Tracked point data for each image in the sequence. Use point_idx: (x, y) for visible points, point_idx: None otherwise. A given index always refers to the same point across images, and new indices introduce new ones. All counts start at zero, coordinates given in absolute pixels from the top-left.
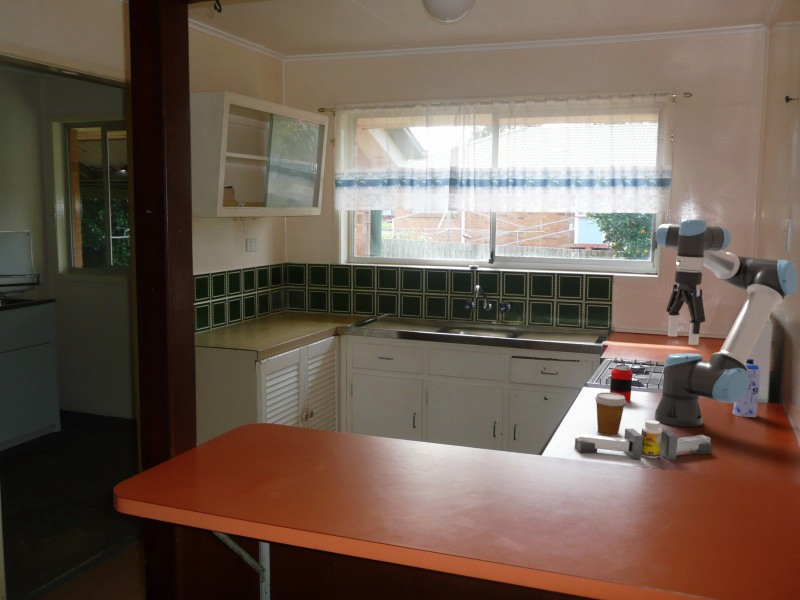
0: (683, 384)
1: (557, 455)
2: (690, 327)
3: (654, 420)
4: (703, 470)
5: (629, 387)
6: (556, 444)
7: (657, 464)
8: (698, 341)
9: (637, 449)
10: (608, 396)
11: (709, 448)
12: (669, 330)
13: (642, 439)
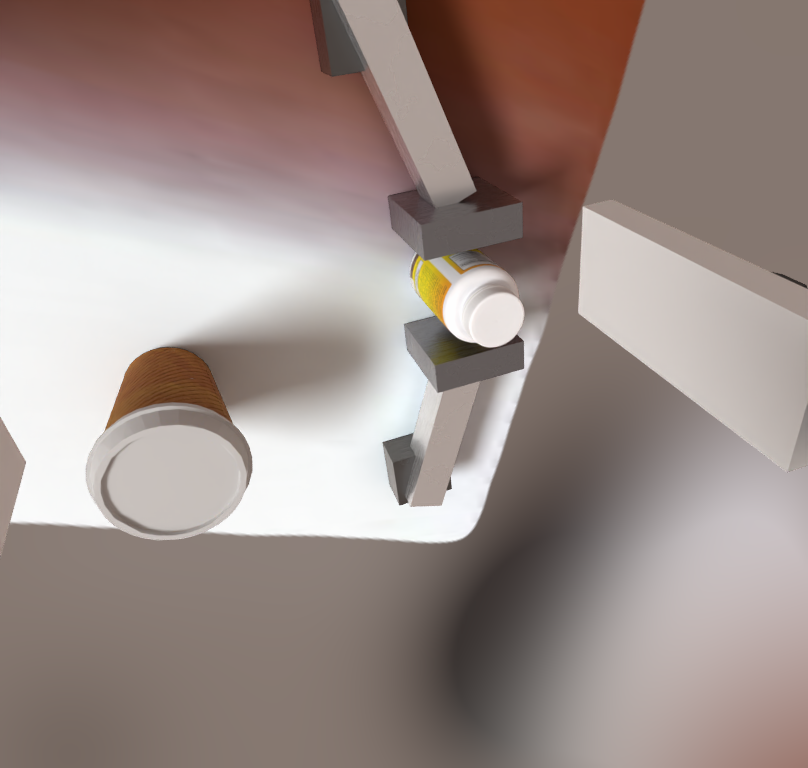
0: None
1: (463, 518)
2: (743, 419)
3: (477, 309)
4: (580, 97)
5: None
6: (365, 529)
7: (524, 255)
8: (637, 212)
9: None
10: (166, 491)
11: None
12: (9, 521)
13: (516, 335)
